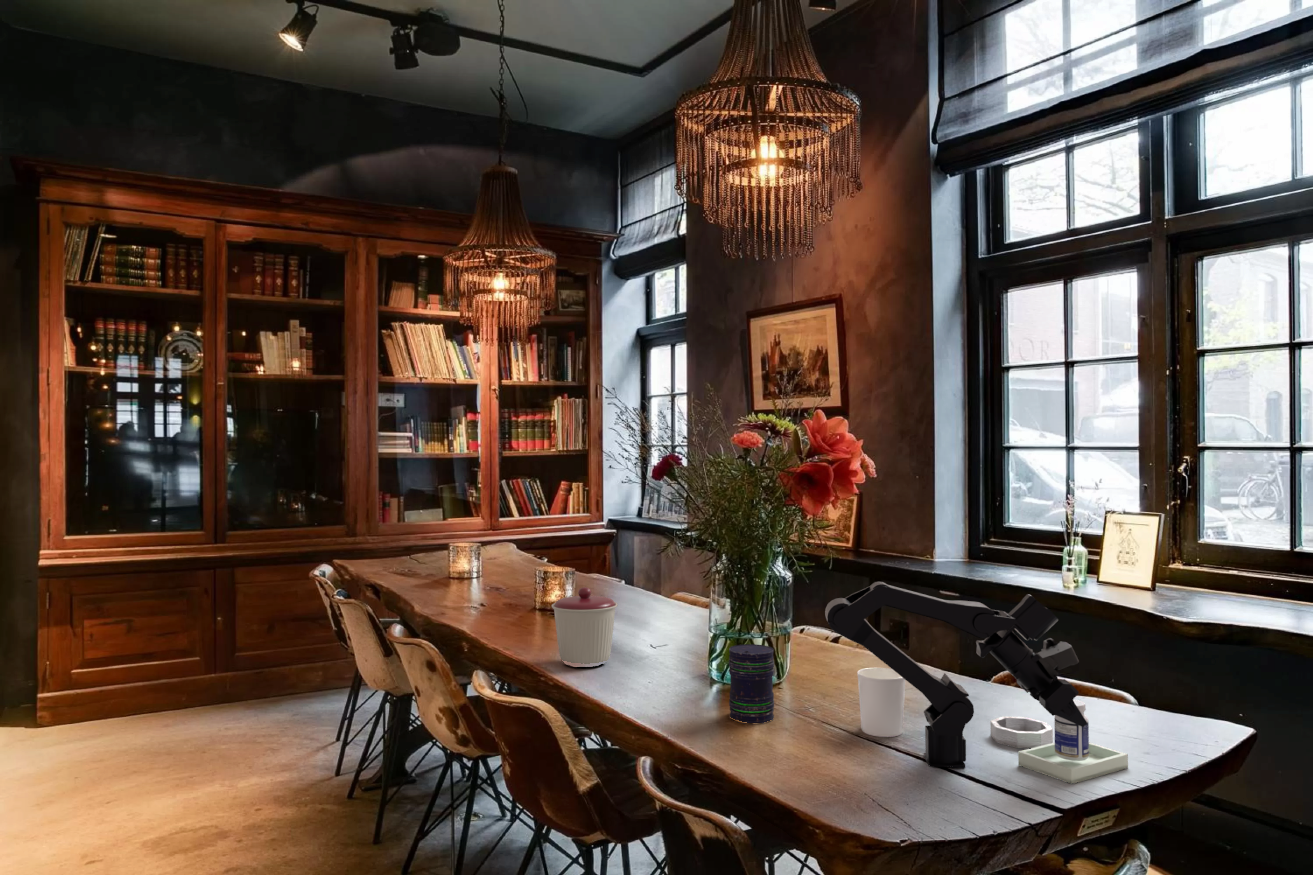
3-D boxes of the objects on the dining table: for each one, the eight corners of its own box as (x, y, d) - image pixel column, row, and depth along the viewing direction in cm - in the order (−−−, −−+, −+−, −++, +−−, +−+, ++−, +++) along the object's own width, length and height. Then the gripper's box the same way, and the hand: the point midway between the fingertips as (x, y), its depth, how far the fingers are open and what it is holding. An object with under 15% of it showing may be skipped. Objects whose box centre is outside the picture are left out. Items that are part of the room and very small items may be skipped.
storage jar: (738, 708, 203) (738, 642, 204) (780, 714, 199) (779, 646, 199) (722, 720, 194) (721, 651, 195) (765, 726, 190) (765, 655, 190)
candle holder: (848, 727, 189) (847, 670, 189) (886, 721, 193) (885, 665, 193) (877, 740, 180) (876, 680, 180) (916, 734, 184) (915, 675, 184)
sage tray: (1071, 784, 156) (1071, 769, 156) (1018, 764, 166) (1018, 751, 166) (1128, 767, 164) (1127, 753, 164) (1074, 750, 174) (1073, 737, 174)
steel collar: (1000, 747, 176) (1000, 732, 176) (986, 730, 187) (986, 715, 187) (1058, 749, 175) (1057, 733, 175) (1040, 731, 185) (1040, 717, 185)
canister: (538, 664, 247) (538, 587, 248) (590, 653, 260) (590, 580, 260) (578, 675, 234) (578, 594, 234) (631, 664, 246) (631, 587, 246)
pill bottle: (1075, 750, 169) (1075, 696, 169) (1095, 760, 163) (1095, 705, 163) (1047, 751, 167) (1048, 698, 168) (1067, 762, 162) (1067, 707, 162)
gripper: (1066, 638, 157) (1132, 704, 155) (1033, 618, 175) (1093, 677, 174) (1019, 681, 158) (1085, 747, 156) (991, 657, 176) (1050, 716, 175)
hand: (1079, 719), depth 165 cm, fingers closed on pill bottle, 6 cm apart
